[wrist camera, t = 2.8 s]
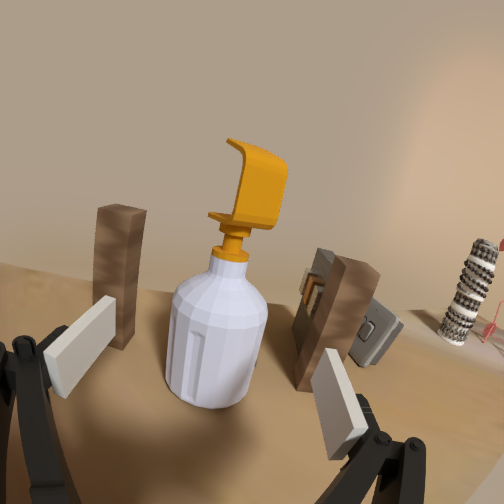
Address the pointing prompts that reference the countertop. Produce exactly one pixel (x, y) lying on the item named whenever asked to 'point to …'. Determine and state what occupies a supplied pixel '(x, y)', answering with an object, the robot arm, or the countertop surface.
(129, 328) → the gate
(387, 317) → the electrical switch
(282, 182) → the soap bottle
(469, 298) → the decorative candle
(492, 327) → the figurine
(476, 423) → the countertop surface
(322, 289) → the breaker panel
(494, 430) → the countertop surface
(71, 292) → the countertop surface
